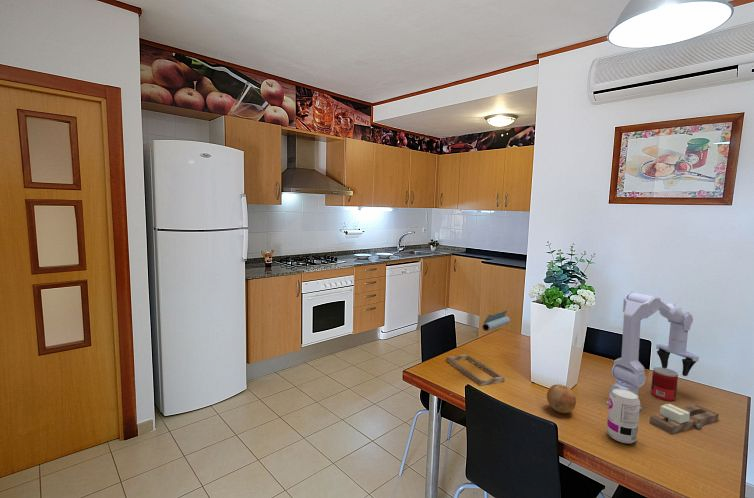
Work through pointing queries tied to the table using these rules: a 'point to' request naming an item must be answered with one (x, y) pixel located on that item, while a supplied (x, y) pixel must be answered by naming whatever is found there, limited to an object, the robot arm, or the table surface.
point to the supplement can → (623, 415)
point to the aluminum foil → (495, 321)
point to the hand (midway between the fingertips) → (674, 371)
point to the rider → (674, 413)
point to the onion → (561, 398)
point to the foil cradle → (497, 376)
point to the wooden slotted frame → (696, 420)
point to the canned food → (664, 384)
